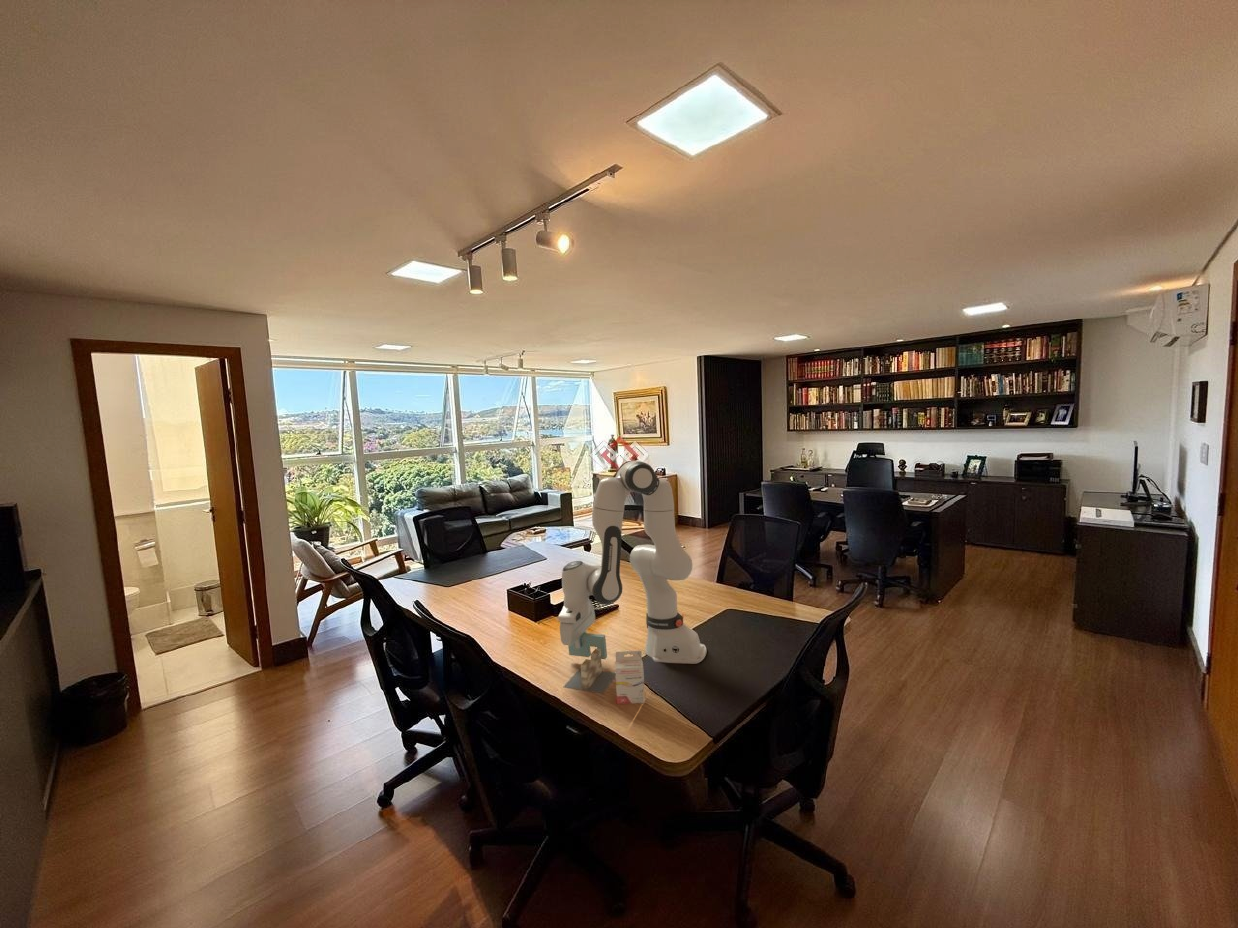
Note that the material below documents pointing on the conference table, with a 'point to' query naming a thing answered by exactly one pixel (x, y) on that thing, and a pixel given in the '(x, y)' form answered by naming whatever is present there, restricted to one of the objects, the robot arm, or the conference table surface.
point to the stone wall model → (591, 669)
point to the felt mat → (597, 685)
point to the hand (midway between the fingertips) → (580, 645)
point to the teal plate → (588, 641)
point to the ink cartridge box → (629, 678)
